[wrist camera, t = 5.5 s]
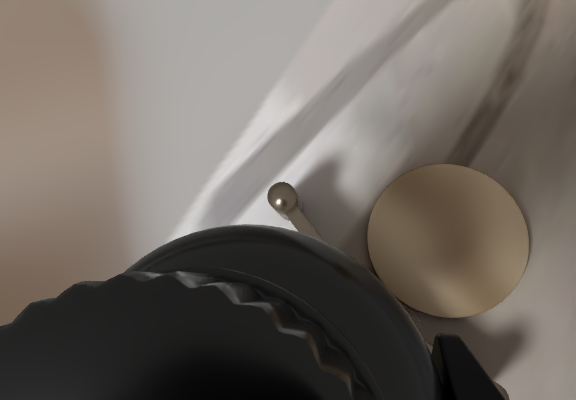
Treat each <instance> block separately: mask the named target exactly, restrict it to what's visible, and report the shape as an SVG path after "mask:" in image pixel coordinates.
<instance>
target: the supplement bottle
mask: <svg viewBox="0 0 576 400" xmlns="http://www.w3.org/2000/svg"><path fill="white" fill-rule="evenodd" d="M0 400H446V398H445V393H444V390H443V387H442V383H441V380H440V377H439V373H438V370H437V368H436V366H435V363H434V361H433V358H432V356H431V353H430V351H429V349H428V347H427V345H426V343H425V341H424V339H423V337H422V335H421V333H420V331H419V330H418V328H417V326H416V325H415V323H414V322H413V320H412V319H411V317H410V315H409V314H408V312H407V311H406V310H405V308H404V307H403V306H402V305H401V303H400V302H399V301H398V299H397V298H396V297H395V296H394V294H393V293H392V292H391V291H390V290H389V289H388V288H387V287H386V286H385V285H384V284H383V283H382V282H381V281H380V280H379V279H378V278H377V277H376V276H375V275H374V274H373V273H371V272H370V271H369V270H368V269H367V268H366V267H364V266H363V265H362V264H360V263H359V262H358V261H356V260H355V259H353V258H352V257H351V256H349V255H347V254H346V253H344V252H342V251H341V250H339V249H337V248H336V247H334V246H332V245H330V244H328V243H325V242H323V241H321V240H319V239H317V238H314V237H311V236H309V235H306V234H303V233H300V232H297V231H293V230H288V229H284V228H280V227H273V226H266V225H247V224H244V225H228V226H222V227H215V228H210V229H206V230H202V231H198V232H195V233H191V234H189V235H186V236H183V237H180V238H178V239H175V240H173V241H171V242H169V243H167V244H165V245H163V246H161V247H159V248H157V249H156V250H154V251H152V252H151V253H149V254H147V255H146V256H144V257H143V258H141V259H140V260H139V261H137V262H136V263H135V264H134V265H132V266H131V267H129V268H128V269H127V270H126V271H125V272H124V273H122V274H119V275H117V276H115V277H113V278H111V279H109V280H107V281H83V282H79V283H76V284H74V285H73V286H71V287H70V288H68V289H67V290H65V291H64V292H63V293H61V294H60V295H59V296H58V297H57V298H49V299H43V300H38V301H36V302H32V303H30V304H29V305H28V306H27V307H26V308H25V309H24V310H23V311H22V312H21V313H20V314H19V315H18V316H17V318H16V319H15V320H14V321H13V322H12V323H9V324H6V325H2V326H0Z"/></svg>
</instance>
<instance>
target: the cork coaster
mask: <svg viewBox="0 0 576 400" xmlns="http://www.w3.org/2000/svg"><path fill="white" fill-rule="evenodd" d="M367 243H368V251H369V255H370V259H371V262H372V264H373V267H374V269H375V271H376V273H377V275H378V277H379V278H380V280H381V281H382V282H383V284H384V285H385V286H386V287H387V288H388V289H389V290H390V291H391V292H392V293H393V294H394V296H396V297H397V298H398V299H399V300H400V301H402V302H403V303H405V304H407V305H408V306H410V307H412V308H414V309H416V310H418V311H421V312H424V313H426V314H429V315H434V316H438V317H447V318H460V317H467V316H473V315H476V314H479V313H482V312H485V311H487V310H489V309H491V308H493V307H495V306H496V305H497V304H499V303H500V302H502V301H503V300H504V299H505V298H506V297H507V296H508V295H510V293H511V292H512V291H513V290H514V289H515V287H516V286H517V284H518V283H519V281H520V279H521V278H522V275H523V273H524V270H525V268H526V264H527V260H528V254H529V236H528V231H527V226H526V223H525V220H524V217H523V215H522V213H521V211H520V209H519V207H518V205H517V204H516V202H515V201H514V199H513V198H512V197H511V196H510V194H509V193H508V192H507V191H506V190H505V189H504V188H503V187H502V186H501V185H500V184H498V183H497V182H496V181H494V180H493V179H492V178H490V177H488V176H487V175H485V174H483V173H481V172H479V171H476V170H474V169H471V168H468V167H464V166H460V165H453V164H434V165H428V166H423V167H419V168H417V169H414V170H411V171H409V172H407V173H405V174H403V175H402V176H400V177H399V178H397V179H396V180H394V181H393V182H392V183H391V184H390V185H389V186H388V187H387V188H386V189H385V190H384V191H383V193H382V194H381V195H380V197H379V198H378V200H377V201H376V203H375V206H374V208H373V210H372V213H371V216H370V219H369V224H368V230H367Z"/></svg>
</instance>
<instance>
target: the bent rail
mask: <svg viewBox="0 0 576 400" xmlns="http://www.w3.org/2000/svg"><path fill="white" fill-rule="evenodd" d="M268 202H269V204H270V205H271V206H272V207H273V208H274V209H275V210H276V211H277V212H278V213H279V214H280V215H281V216H282V217H283V218H284V219H286V220H290V221H291V222H292V224H293V225H294V226H295V228H296V229H297V230H298V232H300V233H303V234H306V235H309V236H311V237H314V238H317V239H319V240H321V241H323V240H322V238H321V237H320V236H319V234H318V233H317V232H316V230H315V229H314V228H313V227H312V225H311V224H310V223H309V221H308V220H307V219H306V218H305V216H304V215H303V214H302V211H303V205H302V202H301V200H300V199H299V197H298V195H297V193H296V192H295V190H294V188H293V187H292V186H291V185H290V184H288V183H285V182H279V183H276V184H274V185H273V186H272V187H271V188H270V189H269V191H268ZM323 242H324V241H323ZM425 343H426V345H427V347H428V349H429V351H430V353H432V349H433V347H432V346H431V345H430V344H428V343H427V342H426V341H425ZM492 382H493V383H494V384H495V386H496V387H497V388H498V390H499V391H500V393H501V394H502V395H503V397H504V398H505V399H506V400H509V396H508V394H507V392H506V390H505V389H504V388H503V387H502V386H500V385H499V384H497V383H496V382H494V381H493V380H492Z"/></svg>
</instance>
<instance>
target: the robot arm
mask: <svg viewBox="0 0 576 400" xmlns="http://www.w3.org/2000/svg"><path fill="white" fill-rule="evenodd" d="M431 356H432V358H433V361H434V363H435V366H436V368H437V370H438V373H439V377H440V380H441V383H442V387H443V390H444V393H445V398H446V400H506V399H505V398H504V397H503V395H502V394H501V393H500V391H499V390H498V388H497V387H496V386H495V384H494V383H493V382H492V380H491V379H490V377H489V376H488V375H487V373H486V372H485V371H484V369H483V368H482V367H481V365H480V364H479V362H478V361H477V360H476V358H475V357H474V356H473V354H472V353H471V351H470V350H469V349H468V347H467V346H466V345H465V343H464V342H463V341H462V339H461V338H460V337H459V336H457V335H452V334H442V333H439V334H437V335H436V337H435V340H434V344H433V349H432V353H431Z"/></svg>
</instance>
